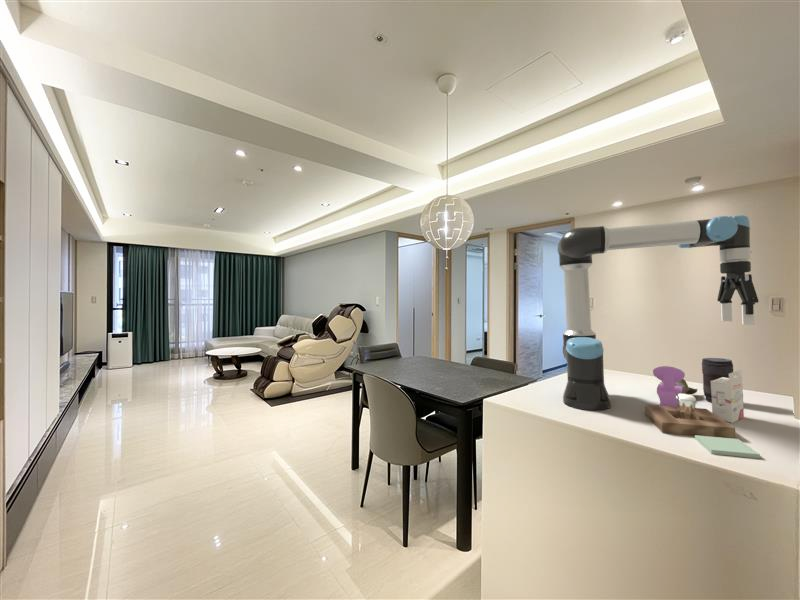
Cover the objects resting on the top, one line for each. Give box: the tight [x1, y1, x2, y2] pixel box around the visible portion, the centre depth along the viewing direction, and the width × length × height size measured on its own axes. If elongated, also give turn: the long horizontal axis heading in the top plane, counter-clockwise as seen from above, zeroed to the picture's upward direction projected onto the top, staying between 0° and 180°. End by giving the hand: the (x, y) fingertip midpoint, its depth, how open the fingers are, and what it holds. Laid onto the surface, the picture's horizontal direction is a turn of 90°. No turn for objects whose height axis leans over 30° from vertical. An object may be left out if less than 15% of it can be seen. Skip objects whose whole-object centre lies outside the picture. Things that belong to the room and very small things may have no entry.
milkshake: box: [675, 392, 697, 420], centre depth 101 cm, size 4×5×10 cm
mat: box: [694, 435, 761, 459], centre depth 85 cm, size 9×9×1 cm
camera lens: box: [701, 357, 734, 404], centre depth 120 cm, size 8×8×15 cm
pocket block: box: [644, 404, 736, 439], centre depth 101 cm, size 16×16×3 cm
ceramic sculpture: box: [659, 378, 699, 396], centre depth 128 cm, size 11×9×15 cm
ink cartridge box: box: [710, 370, 745, 424], centre depth 105 cm, size 9×5×15 cm, turn 117°
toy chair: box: [652, 365, 686, 407], centre depth 114 cm, size 8×9×15 cm
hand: (736, 322), depth 117 cm, fingers open, 13 cm apart
